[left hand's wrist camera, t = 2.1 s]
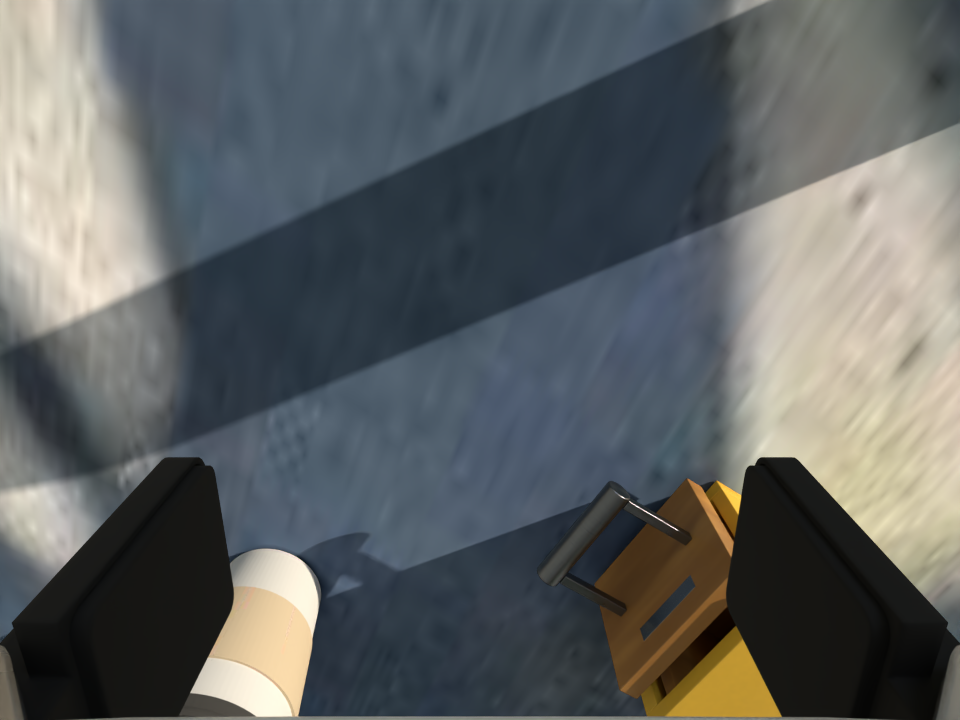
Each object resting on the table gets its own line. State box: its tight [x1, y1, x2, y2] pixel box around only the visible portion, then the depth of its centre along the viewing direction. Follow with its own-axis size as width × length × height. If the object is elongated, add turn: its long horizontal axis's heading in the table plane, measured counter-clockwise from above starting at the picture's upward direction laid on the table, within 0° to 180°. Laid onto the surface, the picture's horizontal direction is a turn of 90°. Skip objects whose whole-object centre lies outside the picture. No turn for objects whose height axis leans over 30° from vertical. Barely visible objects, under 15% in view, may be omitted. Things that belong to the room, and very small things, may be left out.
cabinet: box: [641, 481, 782, 717], centre depth 40 cm, size 18×11×10 cm, turn 57°
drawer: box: [537, 478, 736, 699], centre depth 39 cm, size 22×10×9 cm, turn 57°
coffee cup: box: [178, 549, 321, 717], centre depth 37 cm, size 9×9×15 cm
